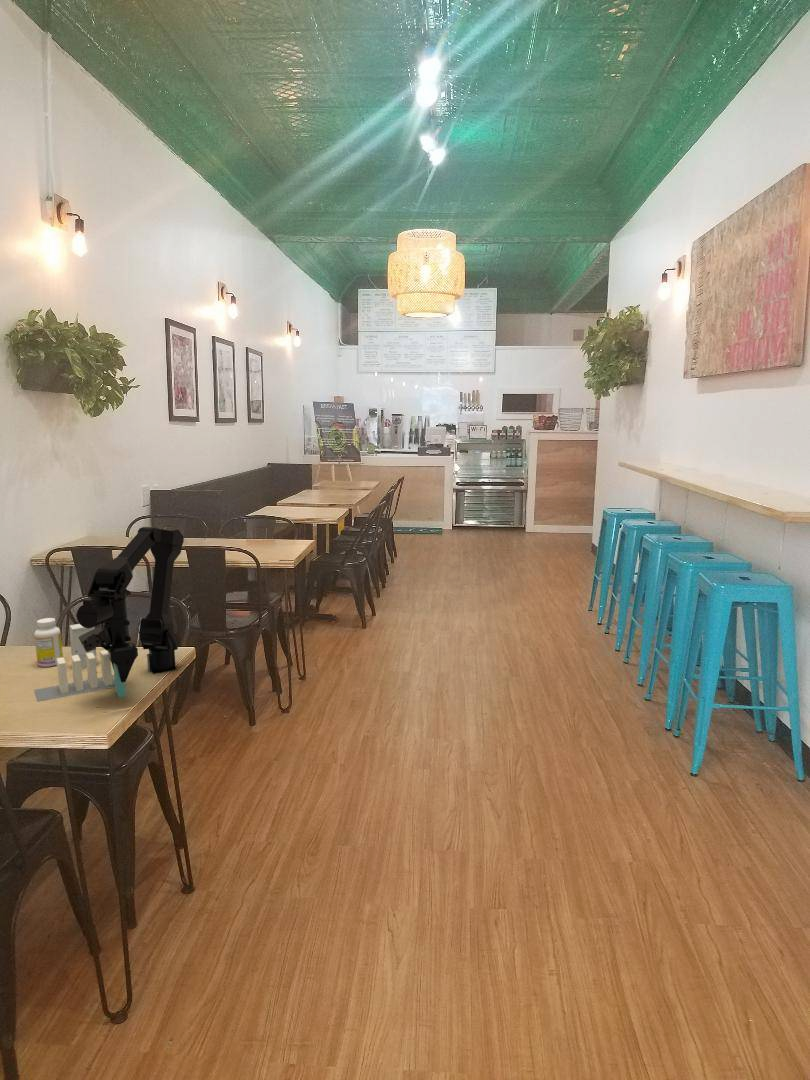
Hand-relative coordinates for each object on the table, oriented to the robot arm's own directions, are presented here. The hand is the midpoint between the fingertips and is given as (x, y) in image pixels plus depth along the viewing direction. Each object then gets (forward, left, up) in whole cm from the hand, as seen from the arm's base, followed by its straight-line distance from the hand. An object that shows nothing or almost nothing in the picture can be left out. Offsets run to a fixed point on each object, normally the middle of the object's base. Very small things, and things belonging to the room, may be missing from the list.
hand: (119, 676), depth 181 cm
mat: (+9, -10, -5) cm, 14 cm away
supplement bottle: (+13, -35, -5) cm, 37 cm away
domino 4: (+2, -10, -5) cm, 11 cm away
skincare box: (+5, -27, -5) cm, 28 cm away
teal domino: (0, 0, -5) cm, 5 cm away
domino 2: (+9, -10, -5) cm, 14 cm away
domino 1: (+12, -10, -5) cm, 16 cm away
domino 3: (+5, -10, -5) cm, 12 cm away
